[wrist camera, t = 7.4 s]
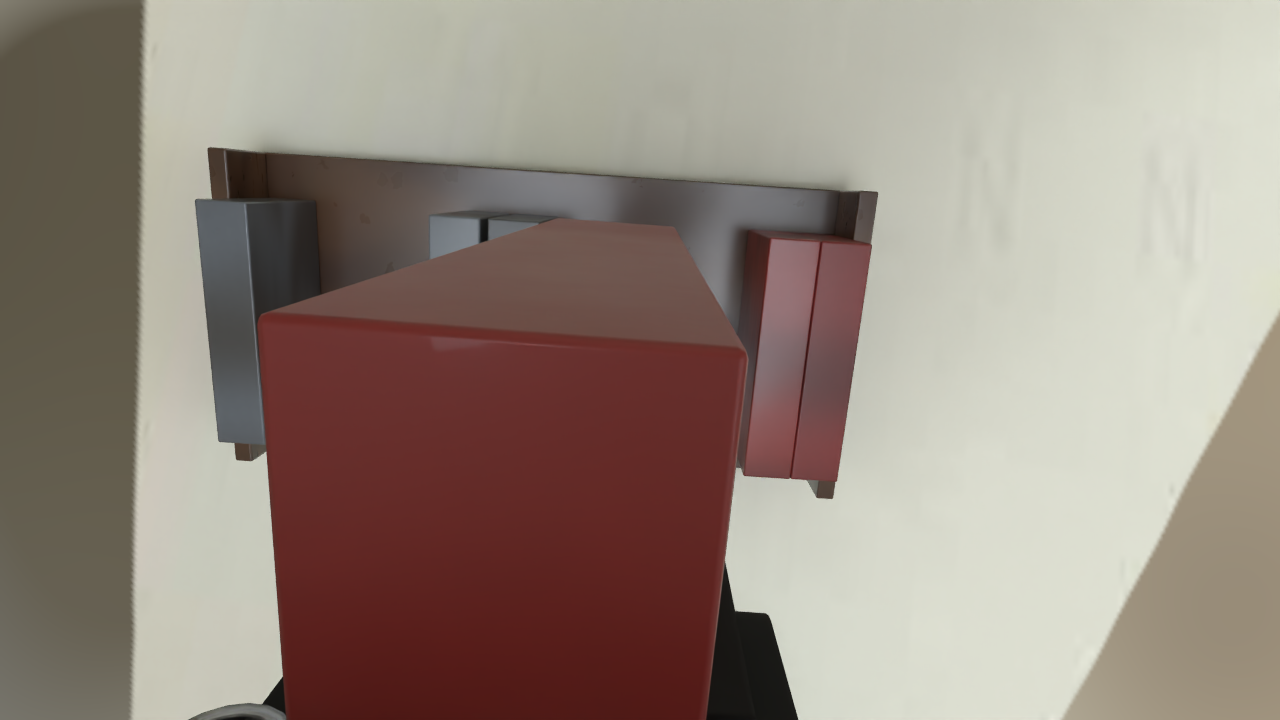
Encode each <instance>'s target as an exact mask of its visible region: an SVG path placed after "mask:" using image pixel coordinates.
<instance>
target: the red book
mask: <svg viewBox="0 0 1280 720" xmlns="http://www.w3.org/2000/svg"><path fill="white" fill-rule="evenodd" d="M257 329H258V343H259V356H260V370H261V384H262V397H263V411H264V424H265V438H266V451H267V465H268V479H269V492H270V506H271V519H272V533H273V547H274V560H275V574H276V587H277V601H278V615H279V628H280V642H281V655H282V669H283V683H284V696H285V710H286V720H706V716H707V708H708V700H709V691H710V683H711V674H712V666H713V657H714V649H715V640H716V632H717V623H718V615H719V606H720V598H721V589H722V581H723V572H724V564H725V555H726V547H727V538H728V530H729V521H730V513H731V504H732V496H733V487H734V479H735V470H736V462H737V453H738V445H739V436H740V428H741V420H742V411H743V403H744V394H745V386H746V377H747V369H748V360H749V359H748V355H747V352H746V350H745V348H744V346H743V344H742V343H741V341H740V339H739V337H738V336H737V334H736V332H735V331H734V329H733V327H732V325H731V324H730V322H729V320H728V319H727V317H726V315H725V313H724V312H723V310H722V308H721V307H720V305H719V303H718V301H717V300H716V298H715V296H714V295H713V293H712V291H711V289H710V288H709V286H708V284H707V283H706V281H705V279H704V277H703V276H702V274H701V272H700V271H699V269H698V267H697V265H696V264H695V262H694V260H693V258H692V257H691V255H690V253H689V252H688V250H687V248H686V246H685V245H684V243H683V241H682V240H681V238H680V236H679V234H678V233H677V231H676V229H675V228H674V227H670V226H657V225H644V224H631V223H617V222H604V221H591V220H577V219H564V218H556V219H553V220H550V221H547V222H544V223H541V224H538V225H535V226H532V227H529V228H526V229H522V230H519V231H516V232H513V233H510V234H507V235H504V236H501V237H498V238H495V239H492V240H489V241H485V242H482V243H479V244H476V245H473V246H470V247H467V248H464V249H461V250H458V251H455V252H451V253H448V254H445V255H442V256H439V257H436V258H433V259H430V260H427V261H424V262H421V263H417V264H414V265H411V266H408V267H405V268H402V269H399V270H396V271H393V272H390V273H387V274H383V275H380V276H377V277H374V278H371V279H368V280H365V281H362V282H359V283H356V284H353V285H350V286H346V287H343V288H340V289H337V290H334V291H331V292H328V293H325V294H322V295H319V296H316V297H312V298H309V299H306V300H303V301H300V302H297V303H294V304H291V305H288V306H285V307H282V308H278V309H275V310H272V311H269V312H266V313H263V314H261V316H260V317H259V320H258V323H257Z"/></svg>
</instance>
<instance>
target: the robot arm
mask: <svg viewBox="0 0 1280 720" xmlns="http://www.w3.org/2000/svg"><path fill="white" fill-rule="evenodd" d="M189 720H286V710H285V696H284V683H283V677H282V678H281V680H280V681H279V682H278V684H277V685H276V686H275V688H274V689H273V690H272V692H271V693H270V694H269V696H268V697H267V698H266V700H265V701H264V702H263V704H262V705H261V704H252V703H245V704H236V705H227V706H224V707H220V708H217V709H214V710H210V711H207V712H204V713H201V714H199V715H197V716H195V717H193V718H191V719H189ZM706 720H798V717H797V713H796V710H795V706H794V703H793V699H792V695H791V692H790V688H789V685H788V681H787V677H786V674H785V670H784V666H783V663H782V659H781V656H780V652H779V648H778V645H777V641H776V638H775V634H774V630H773V627H772V623H771V620H770V618H769V616H768V615H767V614H765V613H752V612H738V611H735V609H734V604H733V599H732V594H731V589H730V584H729V579H728V574H727V569H726V564H724V572H723V581H722V589H721V598H720V606H719V615H718V623H717V632H716V640H715V649H714V657H713V666H712V674H711V683H710V691H709V700H708V708H707V716H706Z"/></svg>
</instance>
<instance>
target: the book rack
mask: <svg viewBox="0 0 1280 720" xmlns="http://www.w3.org/2000/svg"><path fill="white" fill-rule="evenodd" d="M208 159H209V170H210V181H211V191H212V199H196V200H195V206H196V216H197V226H198V237H199V247H200V257H201V267H202V277H203V288H204V298H205V308H206V318H207V329H208V339H209V349H210V359H211V369H212V380H213V390H214V400H215V410H216V421H217V431H218V441H219V442H228V443H235V454H236V460H241V461H253V460H254V459H256V458H257V457H259V456H260V455H262V454H263V453H265V452H266V438H265V424H264V411H263V397H262V384H261V370H260V356H259V343H258V329H257V323H258V320H259V317H260V316H261V314H263V313H266V312H269V311H272V310H275V309H278V308H282V307H285V306H288V305H291V304H294V303H297V302H300V301H303V300H306V299H309V298H312V297H316V296H319V295H322V294H325V293H328V292H331V291H334V290H337V289H340V288H343V287H346V286H350V285H353V284H356V283H359V282H362V281H365V280H368V279H371V278H374V277H377V276H380V275H383V274H387V273H390V272H393V271H396V270H399V269H402V268H405V267H408V266H411V265H414V264H417V263H421V262H424V261H427V260H430V259H433V258H436V257H439V256H442V255H445V254H448V253H451V252H455V251H458V250H461V249H464V248H467V247H470V246H473V245H476V244H479V243H482V242H485V241H489V240H492V239H495V238H498V237H501V236H504V235H507V234H510V233H513V232H516V231H519V230H522V229H526V228H529V227H532V226H535V225H538V224H541V223H544V222H547V221H550V220H553V219H556V218H564V219H577V220H591V221H604V222H617V223H631V224H644V225H657V226H670V227H674V228H675V229H676V231H677V233H678V234H679V236H680V238H681V240H682V241H683V243H684V245H685V246H686V248H687V250H688V252H689V253H690V255H691V257H692V258H693V260H694V262H695V264H696V265H697V267H698V269H699V271H700V272H701V274H702V276H703V277H704V279H705V281H706V283H707V284H708V286H709V288H710V289H711V291H712V293H713V295H714V296H715V298H716V300H717V301H718V303H719V305H720V307H721V308H722V310H723V312H724V313H725V315H726V317H727V319H728V320H729V322H730V324H731V325H732V327H733V329H734V331H735V332H736V334H737V336H738V337H739V339H740V341H741V343H742V344H743V346H744V348H745V350H746V352H747V355H748V359H749V360H748V369H747V377H746V386H745V394H744V403H743V411H742V420H741V428H740V436H739V445H738V453H737V462H736V468H741V469H742V472H743V475H744V476H753V477H768V478H784V479H789V478H791V479H801V480H807V481H808V483H809V485H810V487H811V489H812V490H813V492H814V494H815V496H816V497H817V498H825V499H833V495H834V488H835V482H836V481H837V477H838V471H839V464H840V457H841V450H842V444H843V437H844V430H845V424H846V417H847V410H848V403H849V397H850V390H851V383H852V377H853V370H854V363H855V356H856V350H857V343H858V336H859V329H860V323H861V316H862V309H863V303H864V296H865V289H866V282H867V276H868V269H869V262H870V256H871V249H872V245H871V239H872V232H873V225H874V218H875V212H876V205H877V198H878V192H872V191H836V190H821V189H806V188H791V187H776V186H761V185H746V184H731V183H716V182H701V181H686V180H671V179H656V178H641V177H626V176H611V175H596V174H581V173H566V172H551V171H536V170H521V169H506V168H491V167H476V166H461V165H446V164H431V163H416V162H401V161H386V160H371V159H356V158H341V157H326V156H311V155H296V154H281V153H266V152H256V151H246V150H236V149H226V148H212V147H210V148H208Z"/></svg>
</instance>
